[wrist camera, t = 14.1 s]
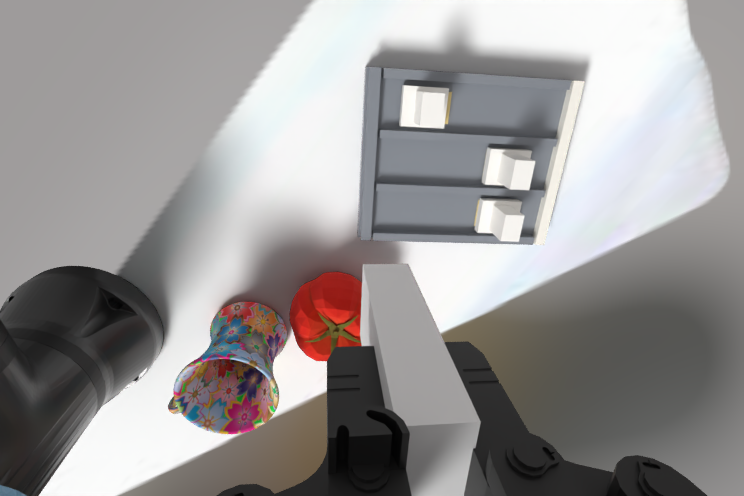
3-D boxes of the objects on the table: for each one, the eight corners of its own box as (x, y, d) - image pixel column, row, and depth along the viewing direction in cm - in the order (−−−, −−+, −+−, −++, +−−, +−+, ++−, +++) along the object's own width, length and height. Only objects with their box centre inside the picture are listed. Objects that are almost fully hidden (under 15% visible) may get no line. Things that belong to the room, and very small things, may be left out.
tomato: (306, 337, 46) (300, 381, 39) (286, 271, 43) (276, 307, 36) (383, 321, 46) (391, 363, 39) (370, 254, 43) (376, 288, 36)
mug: (263, 281, 43) (241, 340, 33) (306, 342, 46) (297, 411, 37) (172, 325, 44) (124, 394, 34) (220, 381, 48) (189, 458, 38)
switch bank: (357, 232, 41) (358, 240, 40) (365, 67, 35) (366, 66, 33) (537, 237, 43) (546, 244, 41) (574, 81, 37) (587, 81, 35)
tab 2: (481, 182, 39) (497, 193, 35) (487, 147, 37) (504, 154, 34) (520, 183, 39) (539, 194, 35) (527, 149, 38) (548, 157, 34)
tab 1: (399, 125, 36) (406, 130, 32) (402, 85, 35) (410, 85, 31) (441, 127, 36) (453, 132, 33) (446, 88, 35) (459, 88, 31)
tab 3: (474, 229, 41) (488, 244, 37) (479, 197, 39) (495, 210, 36) (511, 230, 41) (529, 245, 37) (517, 199, 40) (536, 211, 36)
